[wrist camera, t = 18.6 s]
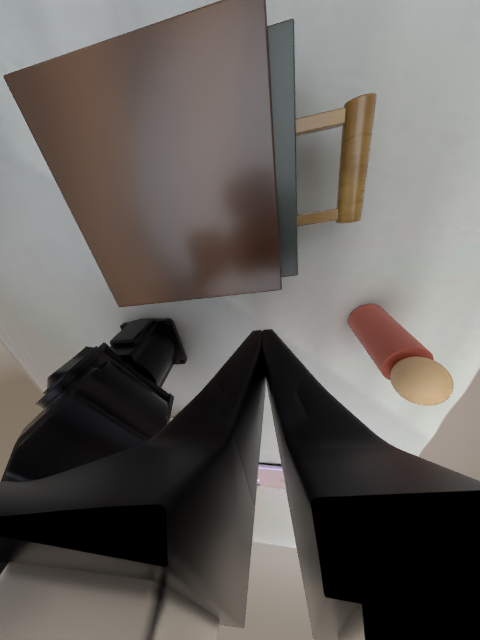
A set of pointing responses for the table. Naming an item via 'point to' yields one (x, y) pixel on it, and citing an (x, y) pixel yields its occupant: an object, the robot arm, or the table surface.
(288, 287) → the table surface
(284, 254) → the drawer
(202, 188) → the cabinet
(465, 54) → the table surface
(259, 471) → the mobile phone
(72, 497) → the robot arm
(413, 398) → the peg doll
